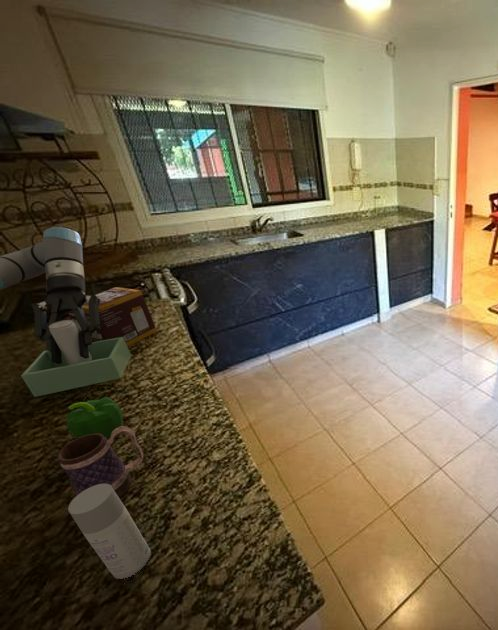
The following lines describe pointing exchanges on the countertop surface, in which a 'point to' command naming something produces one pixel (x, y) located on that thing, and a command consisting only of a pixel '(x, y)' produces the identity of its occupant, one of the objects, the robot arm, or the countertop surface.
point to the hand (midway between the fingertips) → (70, 359)
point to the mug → (98, 462)
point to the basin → (78, 368)
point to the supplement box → (120, 316)
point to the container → (110, 530)
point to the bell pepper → (94, 418)
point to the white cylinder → (68, 341)
